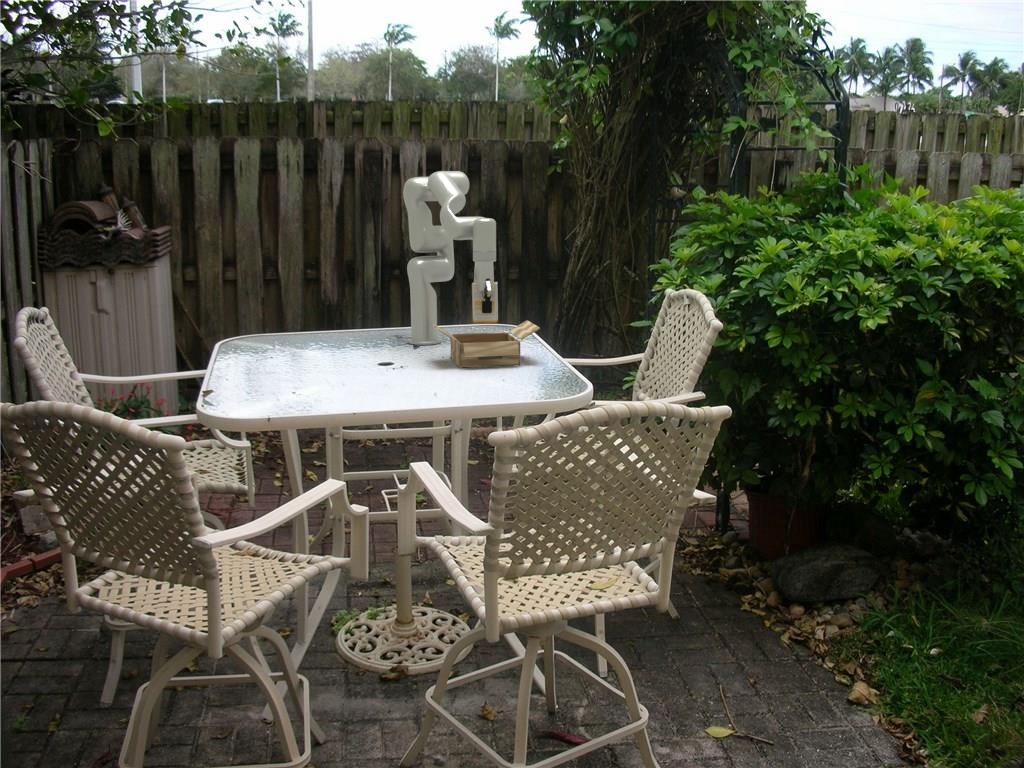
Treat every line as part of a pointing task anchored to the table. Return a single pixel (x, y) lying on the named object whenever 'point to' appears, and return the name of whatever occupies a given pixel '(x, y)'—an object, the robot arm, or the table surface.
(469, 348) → the flap
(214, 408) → the table surface
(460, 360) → the wooden crate
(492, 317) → the supplement box
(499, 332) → the flap
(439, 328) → the flap
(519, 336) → the flap
